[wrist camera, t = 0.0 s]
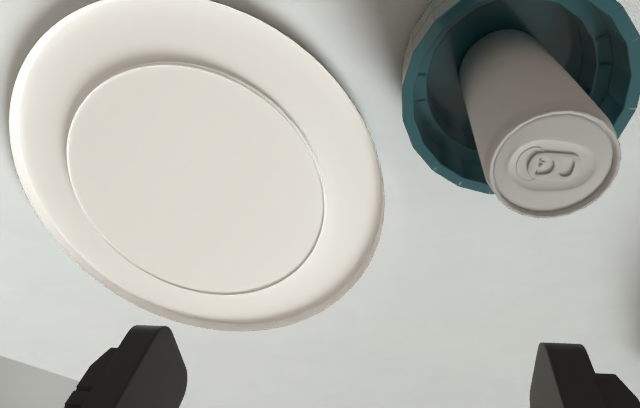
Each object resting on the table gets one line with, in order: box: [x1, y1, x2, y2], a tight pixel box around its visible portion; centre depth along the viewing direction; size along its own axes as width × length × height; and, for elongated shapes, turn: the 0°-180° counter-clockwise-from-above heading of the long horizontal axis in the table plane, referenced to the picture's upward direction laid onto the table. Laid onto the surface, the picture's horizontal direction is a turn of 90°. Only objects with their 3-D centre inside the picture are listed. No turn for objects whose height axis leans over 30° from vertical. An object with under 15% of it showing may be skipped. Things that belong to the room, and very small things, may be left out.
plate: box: [9, 0, 385, 331], centre depth 36 cm, size 28×28×1 cm
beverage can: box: [459, 29, 621, 218], centre depth 23 cm, size 5×5×12 cm
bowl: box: [402, 0, 640, 194], centre depth 26 cm, size 11×11×5 cm
